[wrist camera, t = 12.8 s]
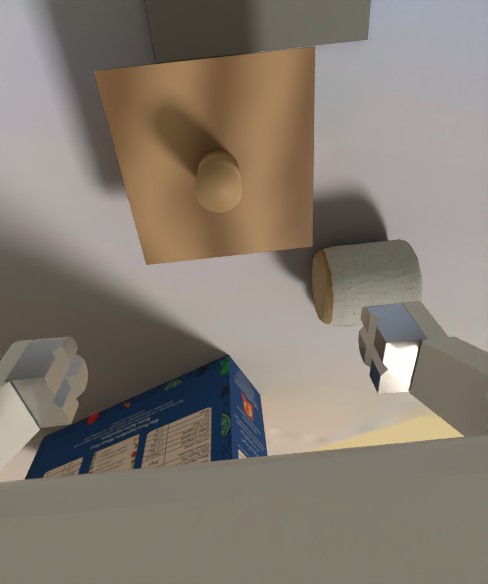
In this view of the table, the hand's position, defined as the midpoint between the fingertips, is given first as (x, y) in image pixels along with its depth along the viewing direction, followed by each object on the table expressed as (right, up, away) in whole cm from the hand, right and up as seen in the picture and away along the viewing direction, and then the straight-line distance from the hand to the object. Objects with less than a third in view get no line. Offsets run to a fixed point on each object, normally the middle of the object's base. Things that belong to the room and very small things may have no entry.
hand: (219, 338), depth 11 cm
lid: (-1, +10, +15) cm, 19 cm away
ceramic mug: (+12, +3, +27) cm, 30 cm away
